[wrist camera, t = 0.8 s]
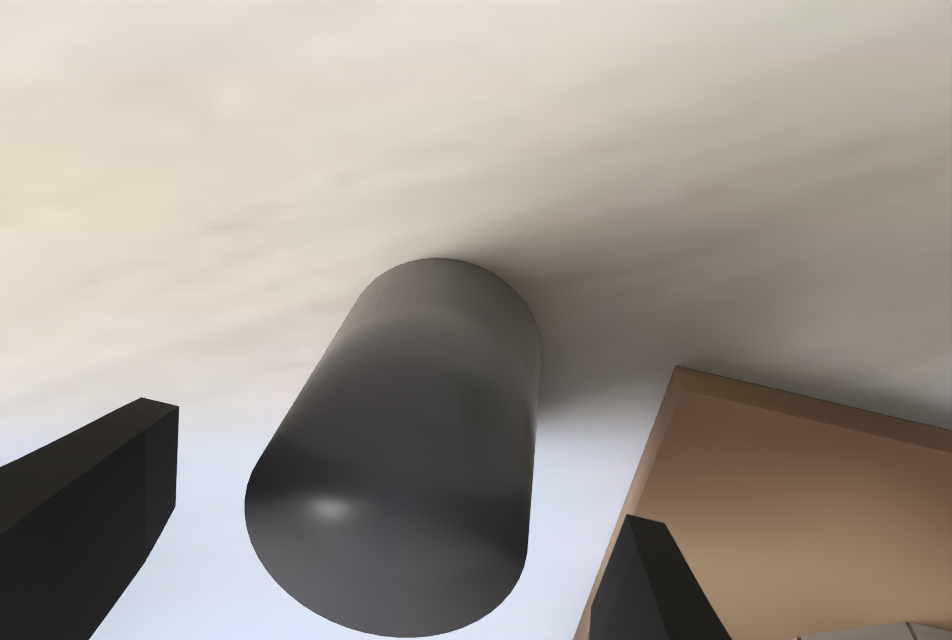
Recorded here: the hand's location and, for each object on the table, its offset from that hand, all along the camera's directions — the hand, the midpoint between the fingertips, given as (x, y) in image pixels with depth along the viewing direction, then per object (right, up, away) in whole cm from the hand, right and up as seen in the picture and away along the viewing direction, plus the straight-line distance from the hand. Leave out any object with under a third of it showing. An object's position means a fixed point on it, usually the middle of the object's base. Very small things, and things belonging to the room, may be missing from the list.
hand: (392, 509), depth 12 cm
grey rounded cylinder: (+1, +2, +5) cm, 6 cm away
